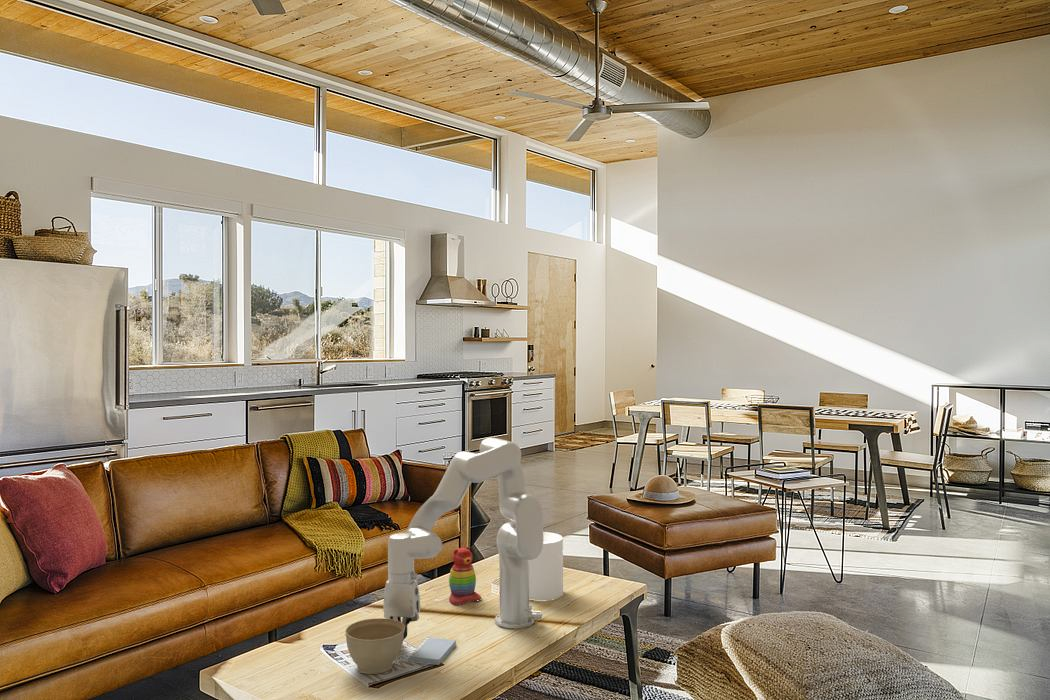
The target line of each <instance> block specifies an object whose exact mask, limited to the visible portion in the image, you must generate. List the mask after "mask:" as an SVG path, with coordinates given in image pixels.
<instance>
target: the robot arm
mask: <svg viewBox="0 0 1050 700" xmlns="http://www.w3.org/2000/svg"><path fill="white" fill-rule="evenodd" d="M521 460H522V450H521V448H520V446H518V444H517V443H516V442H513V441H510V440H506V439H502V438H498V437H486V438H485V439H483V440H482V441H481V443H480V444H479V452H478V453H475V452H471V451H466V450H465V451H464V450H463V451H458V452H456V454H455V455H454V456H453V458H452V459H451V461H450V463H449V465H448V466H447V469H445V473H444V474H443V476H442V479H441V480H440V483H439V484H438V486H437V488H436V490H435V491H434V493H433V495H432V496H430V497H429V498H428V499H426V501H425V502H423V504H422V505H420V507H419V508H418V509H417V511H416V512H415V513H414V516H413V518H412V519H411V521H410V523H409V524H408V527H407V529H406V532H398V533H394V534H391V535H390V536H389V537H388V540H387V568H388V569H387V573H388V574H387V580H386V582H385V586H384V593H383V605H382V606H383V608H382V609H383V618H385V619H393V620H397V621H399V622H401V623H403V624H404V626H405V631H404V639H403V641H404V640H405V639H406V638H407V636H408V625H409V624H410V623H412V622H417V621H419V619H420V615H419V613H420V611H421V598H420V589H419V585H418V584H419V583H418V579H419V573H416V571H415V560H416V559H432V558H435V557H437V556H438V555H439V554H440V553H441V551H442V550H443V548H442V547H443V541H442V539H441V538H440V537H439V535H437V534H436V533H434V532H433V531H432V529H433V527H434V525H435V524H436V523H437V521H438V520H439V519H440V518H441V517H443V516H444V515H445V514H447V513H449V512H451V511H454V510H455V509H458V508H459V507H460V506H461V504H462V502H463V500H464V497H465V496H466V494H467V492H468V490H469V488H470V487H471V484H472V483H473V484H474V483H476V484H477V483H483V482H486V481H488V480H491V479H493V478H496V477H497V482H498V483H497V484H498V504H499V505H498V506H499V512H500V514H501V515H502V516H503V517H504V518H506V519H508V520H510V521H509V522H506V523H504V524H502V525H501V526H499V527H500V528H499V529H498V531H497V533H496V534H497V535H496V547H497V552H498V561H499V562H498V563H499V613H498V614H497V615H496V616H495V617H494V623H495V624H496V625H498V626H499V627H501V628H505V629H522V628H527V627H529V626H531V625H533V624H534V622H535V620H538V621H539V620H540V621H542V620H543V613H541V611H540V610H533V606H532V605H530V600H529V561H528V560H533V559H535V558H537V557H538V556H539V554H540V553H541V551H542V548H543V532H544V519H543V518H544V517H543V516H544V514H543V513H544V512H543V509H542V508H543V507H542V504H541V503H540V500H539V499H538V498H537V497H536V496H534V495H533V494H530V493H528V492H527V489H526V481H525V471H524V468H523V465H522V463H521Z"/></svg>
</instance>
